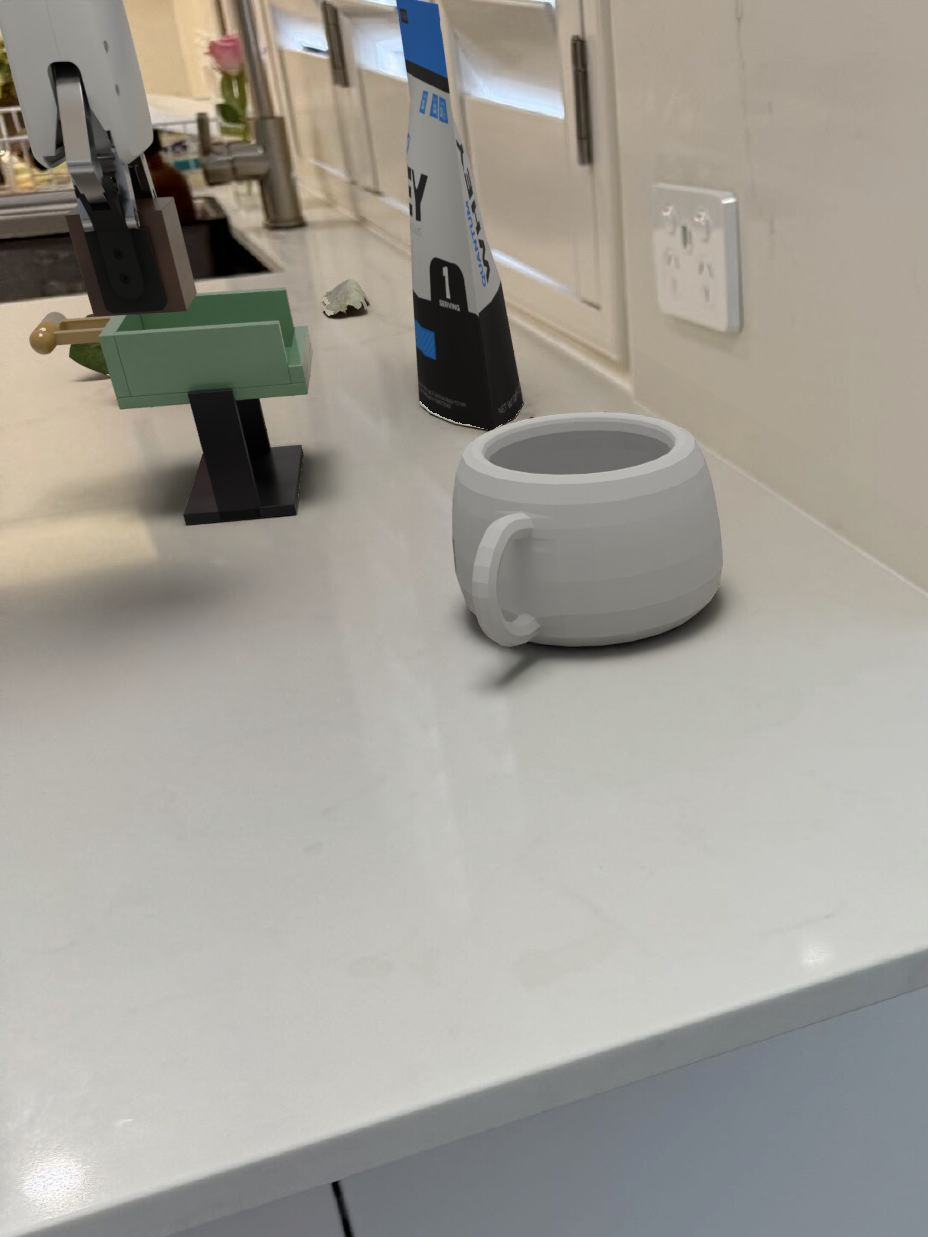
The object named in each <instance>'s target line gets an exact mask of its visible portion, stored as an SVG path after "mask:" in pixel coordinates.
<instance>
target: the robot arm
mask: <svg viewBox="0 0 928 1237" xmlns="http://www.w3.org/2000/svg"><path fill="white" fill-rule="evenodd" d="M0 33H1V37H2V42H3V46H4V49H5V54H6V57H7V61H8V65H9V68H10V73H11V77H12V82H13V85H14V89H15V92H16V97H17V99H18V104H19V108H20V112H21V116H22V119H23V124H24V127H25V131H26V136H27V139H28V142H29V146H30V149H31V154H32V155H33V157H34V159H35V160H36V162H38V163H39V164H40V165H41V166H43V167H44V168H46V169H55V168H57V167H59V166H60V165H62V164H64V163H65V162H66V166H67V169H68V172H69V175H70V179H71V182H72V187H73V191H74V196H75V199H76V204H77V205H78V209H79V213H80V218H81V222H82V225H83V228H84V230H85V232H84V235H85V238H86V242H87V246H88V249H89V253H90V256H91V260H92V263H93V267H94V270H95V274H96V277H97V281H98V284H99V288H100V291H101V295H102V298H103V302H104V306H105V308H106V309H107V311H109V312H110V313H114V314H115V313H131V312H146V311H160V310H163V309H164V307H165V306H166V298H165V294H164V290H163V287H162V283H161V279H160V275H159V271H158V267H157V263H156V259H155V255H154V252H153V248H152V244H151V240H150V236H149V232H148V228H147V227H146V228H140V221H139V216H138V211H137V207H136V202H135V199H142V198H158V196H157V191H156V189H155V185H154V182H153V179H152V175H151V172H150V169H149V165H148V162H147V158H146V155H145V151H146V150H147V149H148V148H150V147H151V145H152V144H153V142H154V130H153V123H152V117H151V112H150V108H149V103H148V98H147V93H146V89H145V85H144V80H143V76H142V72H141V66H140V64H139V59H138V55H137V51H136V48H135V43H134V39H133V38H134V37H133V35H132V31H131V27H130V22H129V19H128V16H127V12H126V8H125V4H124V0H0ZM77 205H76V206H77Z"/></svg>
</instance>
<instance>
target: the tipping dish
mask: <svg viewBox="0 0 928 1237" xmlns="http://www.w3.org/2000/svg"><path fill="white" fill-rule="evenodd" d="M85 317H86V316H85ZM85 317H73V318H72V317H71V318H67V317H66V315H64V313H61V312H59V311H51V312H49V313H47V314H46V315H45V317H44V318H43V319H42V320H41V321H40V323H39V324H38V325H37V326H36V327H35V328H34V329H33V331H31V333H30V334H29V339H28V342H29V345H30V347H31V349H32V350H33V351H34V352H35V353H37V354H39V355H43V356H45V355H49V354H51V353H53V351H54V350H56V348H57V346H68V345H71V344H83V343H97V342H100V344H101V347H102V351H103V354H104V358H105V361H106V365H107V368H108V371H109V375H110V376H109V379H110V382H111V385H112V388H113V392H114V395H115V398H116V402H117V406H118V409H119V410H132V409H144V408H156V407H169V406H181V405H182V406H183V405H190V402H189V398H188V392H189V391H195V390H208V389H221V388H233V392H234V396H235V400H245V399H258V398H260V399H269V398H282V397H283V398H284V397H293V396H306V395H309V388H310V380H311V372H312V363H313V355H314V350H313V346H312V341H311V335H310V330H309V327H308V325H297V326H295V322H294V318H293V317H294V316H293V313H292V308H291V302H290V298H289V293H288V288H287V287H286V286H281V287H268V288H267V287H266V288H251V289H239V290H225V291H210V292H209V291H208V292H197V294H196V296H195V297H194V299H193V301H192V303H191V304H190V306H189V308H188V309H187V311H182V312H166V313H151V314H135V315H119V316H103V317H86V318H85Z"/></svg>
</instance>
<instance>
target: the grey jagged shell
mask: <svg viewBox="0 0 928 1237" xmlns="http://www.w3.org/2000/svg"><path fill="white" fill-rule="evenodd" d="M323 297H327V298H326V299H328V302H330V304H328V305H327V306H326V309H327V310H330V311H334V312H333V313H335V315H336V314H338V313H340V312H342V313H344V314H347V312H346V311H347V310H348V306H352V307H354V308H355V309H357V310H359V309H361V308H362V305H363V308H364V310H365V311H367V310H368V304H367V302H368V303H369V301H370V300H369V299H368V295H367V293H366V292H365V291H364V290H363V288H362V287H361V285H360V284H359V282H358V281H357V280H355V279H351V278H350V279H349V278H348V279H345V280H344V281H343V280H342V282H340V283H338V284H337V285H336V286H335V287H333V288H332V289H331V290H329V291H326V292H325V295H323V296H322V298H323ZM366 301H367V302H366Z"/></svg>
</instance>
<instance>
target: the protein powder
mask: <svg viewBox="0 0 928 1237" xmlns="http://www.w3.org/2000/svg"><path fill="white" fill-rule="evenodd" d="M395 4H396V10H397V14H398V24H399V30H400V37H401V44H402V45H401V46H402V52H403V57H404V65H405V72H406V78H407V79H406V80H407V85H408V92H409V98H410V99H409V111H408V125H407V139H406V150H405V157H406V158H405V159H406V171H407V172H406V173H407V183H408V184H407V186H408V210H409V233H410V234H409V235H410V236H409V237H410V262H411V266H410V267H411V291H412V306H413V320H414V321H413V322H414V339H415V355H416V356H415V357H416V373H417V388H418V389H417V390H418V402H419V401H421V402H422V404H424V405H425V406H426V407H428V409H429V410H430V411H432V412H433V413H437V414H439V415H440V416H442V417H445V418H447V419H451V420H453V421H455V422H458V423H459V422H460V423H462V424H470V425H472V426H476V427H480V428H484V429H488V430H494V429H495V428H496V427H498V426H499V425H501V424H504V423H506V422H507V421H508V420H510V419H512V420H514V419H515V418H514V417H515V416H516V414H517V413H518V414H519V412H520V411H521V409H520V407H521V406H522V404H523V403H524V398H523V392H522V388H521V382H520V377H519V376H520V375H519V370H518V366H517V360H516V354H515V348H514V343H513V338H512V332H511V328H510V322H509V317H508V312H507V311H508V310H507V306H506V300H505V294H504V290H503V284H502V279H501V276H500V274H499V271H498V267H497V265H496V261H495V259H494V256H493V253H492V250H491V247H490V244H489V241H488V238H487V235H486V231H485V230H486V229H485V226H484V222H483V217H482V212H481V208H480V204H479V198H478V195H477V189H476V186H475V181H474V177H473V176H474V175H473V173H472V167H471V162H470V159H469V157H468V154H467V151H466V149H465V146H464V143H463V140H462V137H461V136H460V133H459V130H458V127H457V125H456V122H455V119H454V115H453V108H452V106H453V105H452V99H451V98H452V97H451V91H450V82H449V77H448V76H449V75H448V69H447V61H446V60H447V59H446V54H445V53H446V52H445V46H444V45H445V44H444V37H443V31H442V26H441V15H440V8H439V4H438V3H436V2H435V3H434V2H429V1H425V0H395ZM523 405H524V404H523ZM522 407H523V406H522ZM522 407H521V408H522ZM519 410H520V411H519ZM518 411H519V412H518ZM518 414H517V415H518ZM516 417H517V416H516ZM513 418H514V419H513ZM507 423H508V422H507ZM507 423H506V424H507ZM504 425H505V424H504ZM488 430H487V431H488Z"/></svg>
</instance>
